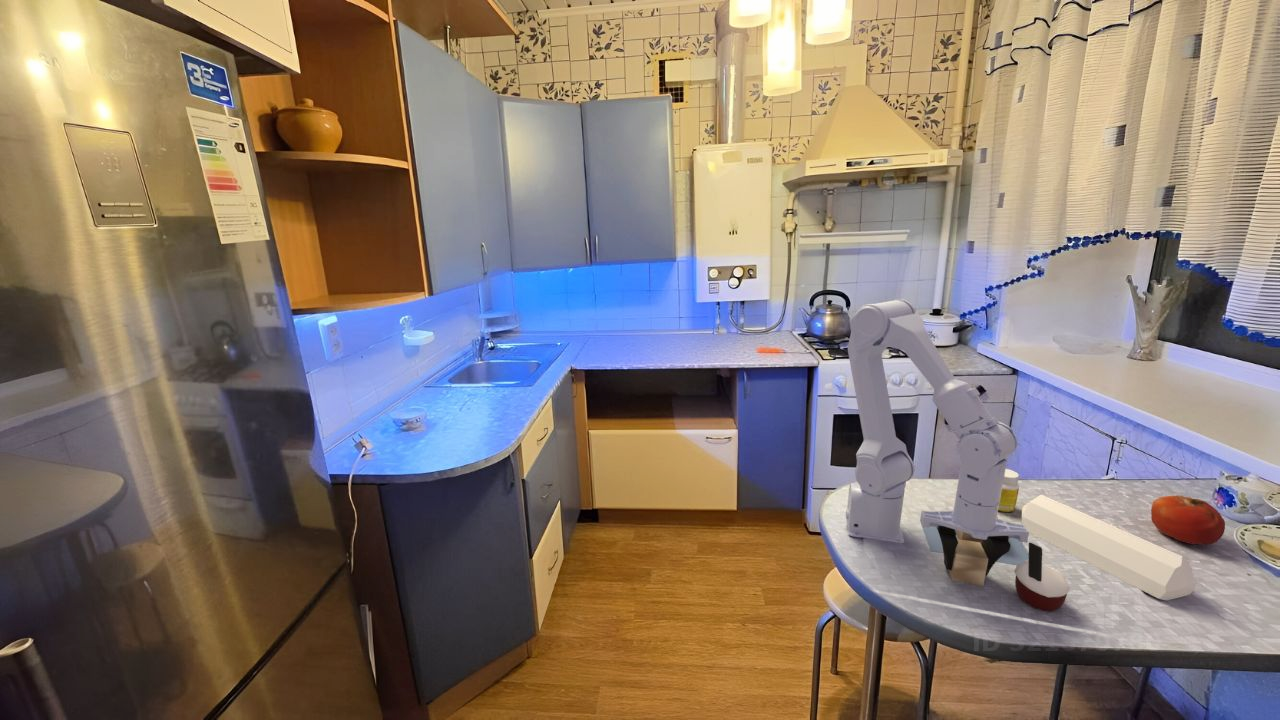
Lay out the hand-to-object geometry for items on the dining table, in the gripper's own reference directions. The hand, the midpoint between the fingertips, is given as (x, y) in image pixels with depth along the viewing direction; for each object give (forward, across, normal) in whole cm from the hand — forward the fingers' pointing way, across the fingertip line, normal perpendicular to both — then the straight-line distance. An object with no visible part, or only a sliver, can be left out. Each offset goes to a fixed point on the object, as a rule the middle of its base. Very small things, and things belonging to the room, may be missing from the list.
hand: (964, 569), depth 82 cm
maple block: (+1, 0, 0) cm, 1 cm away
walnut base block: (+1, +5, +12) cm, 13 cm away
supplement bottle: (+2, +12, +24) cm, 27 cm away
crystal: (+2, +23, +12) cm, 26 cm away
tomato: (+2, +40, +23) cm, 46 cm away
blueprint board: (+1, +4, +10) cm, 11 cm away
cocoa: (+2, +9, -3) cm, 10 cm away
